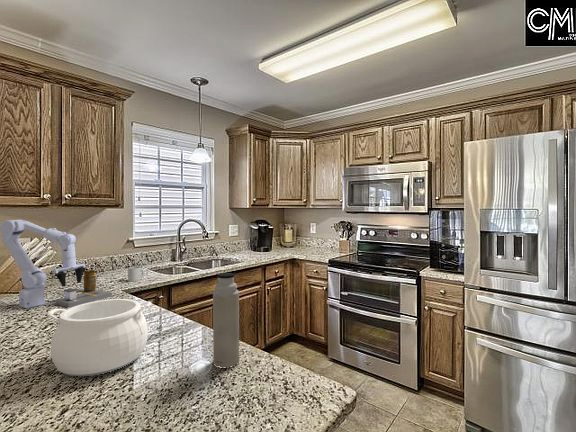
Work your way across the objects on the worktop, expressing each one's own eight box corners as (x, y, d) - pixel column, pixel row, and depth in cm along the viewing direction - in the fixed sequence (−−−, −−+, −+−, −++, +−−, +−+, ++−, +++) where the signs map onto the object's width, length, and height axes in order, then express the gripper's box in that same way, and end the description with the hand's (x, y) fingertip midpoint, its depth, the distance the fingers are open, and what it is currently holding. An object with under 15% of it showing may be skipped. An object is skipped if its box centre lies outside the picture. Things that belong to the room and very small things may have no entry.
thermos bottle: (208, 363, 99) (207, 274, 98) (228, 354, 105) (227, 270, 104) (224, 371, 94) (224, 277, 93) (244, 361, 100) (244, 273, 99)
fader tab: (69, 300, 158) (69, 291, 158) (64, 298, 160) (63, 289, 160) (76, 298, 161) (76, 289, 160) (70, 297, 163) (70, 288, 163)
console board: (68, 307, 154) (68, 303, 154) (55, 304, 160) (55, 299, 160) (111, 296, 174) (111, 292, 173) (98, 293, 179) (98, 289, 179)
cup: (126, 280, 210) (126, 267, 210) (142, 278, 217) (142, 265, 216) (129, 282, 205) (129, 269, 204) (146, 280, 211) (145, 267, 211)
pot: (27, 390, 84) (26, 326, 84) (66, 348, 110) (65, 299, 109) (145, 374, 92) (145, 316, 92) (156, 338, 118) (156, 292, 117)
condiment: (95, 288, 190) (95, 268, 190) (98, 291, 184) (97, 271, 183) (81, 290, 186) (81, 270, 185) (83, 293, 179) (83, 272, 179)
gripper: (58, 260, 152) (61, 288, 153) (88, 255, 165) (90, 281, 166) (49, 260, 155) (52, 287, 155) (79, 255, 168) (81, 280, 169)
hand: (71, 284), depth 161 cm, fingers open, 7 cm apart
